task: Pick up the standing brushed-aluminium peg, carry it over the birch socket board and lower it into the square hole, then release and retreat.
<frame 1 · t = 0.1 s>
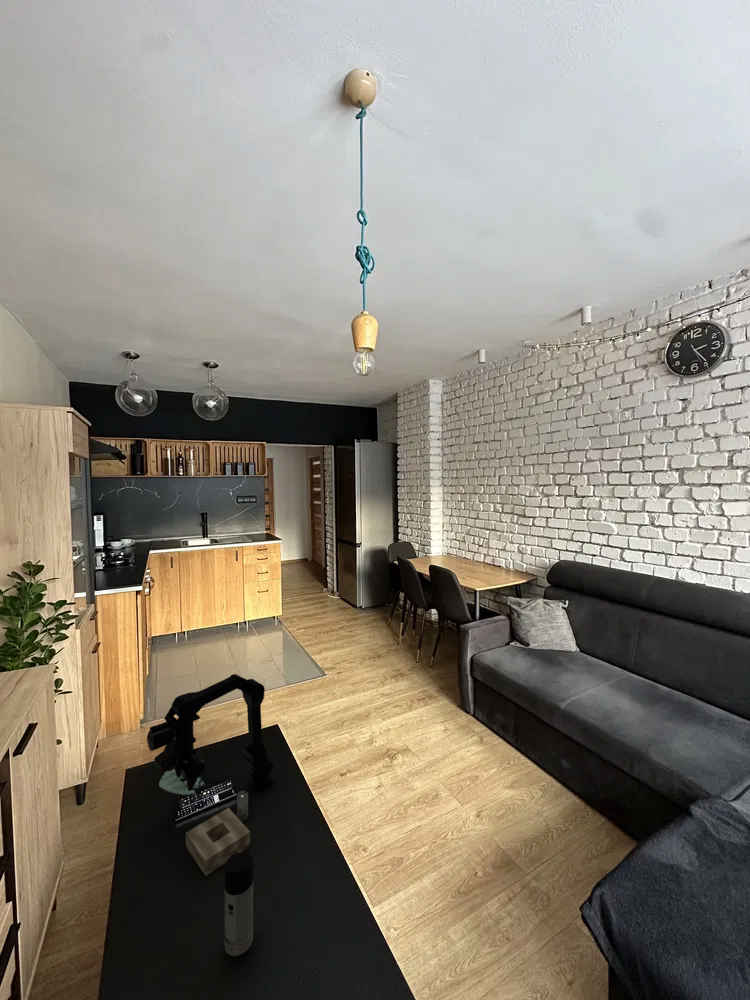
hand: (184, 783, 136), 15 cm above the table, fingers open, 9 cm apart
peg: (242, 817, 140), on the table
socket board: (218, 846, 129), on the table
spray can: (239, 943, 102), on the table
cloth: (189, 781, 159), on the table
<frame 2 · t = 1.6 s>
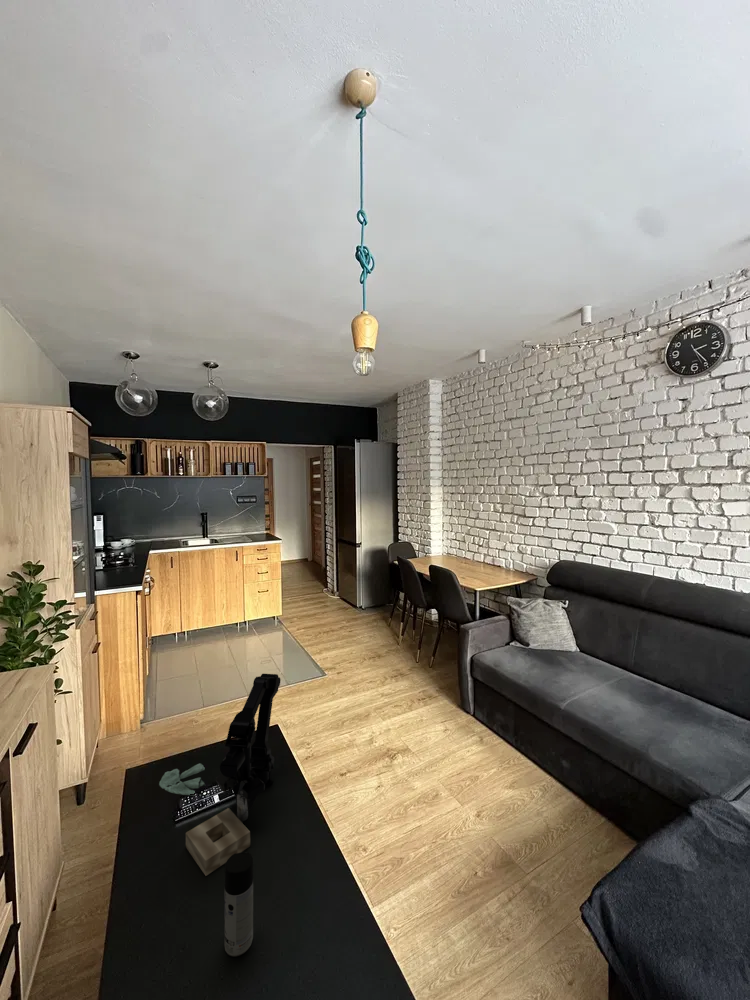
hand: (242, 802, 140), 5 cm above the table, fingers open, 9 cm apart
nothing on the table moved.
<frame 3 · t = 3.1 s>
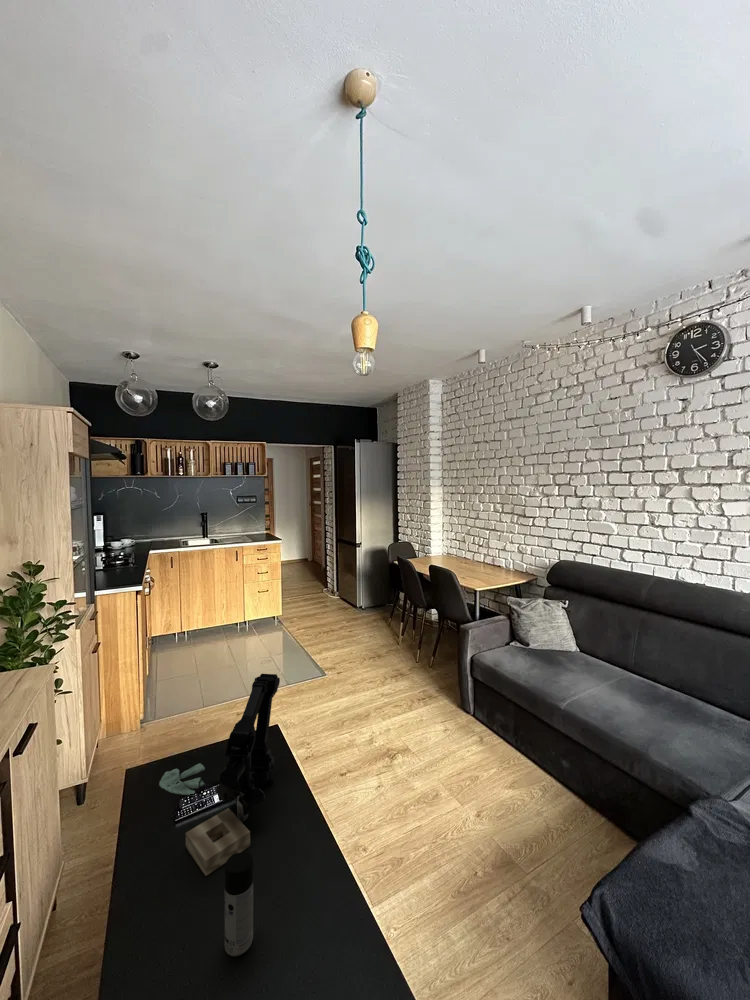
hand: (242, 811, 140), 2 cm above the table, fingers closed on peg, 3 cm apart
peg: (242, 817, 140), on the table, touching gripper
everything else where it was.
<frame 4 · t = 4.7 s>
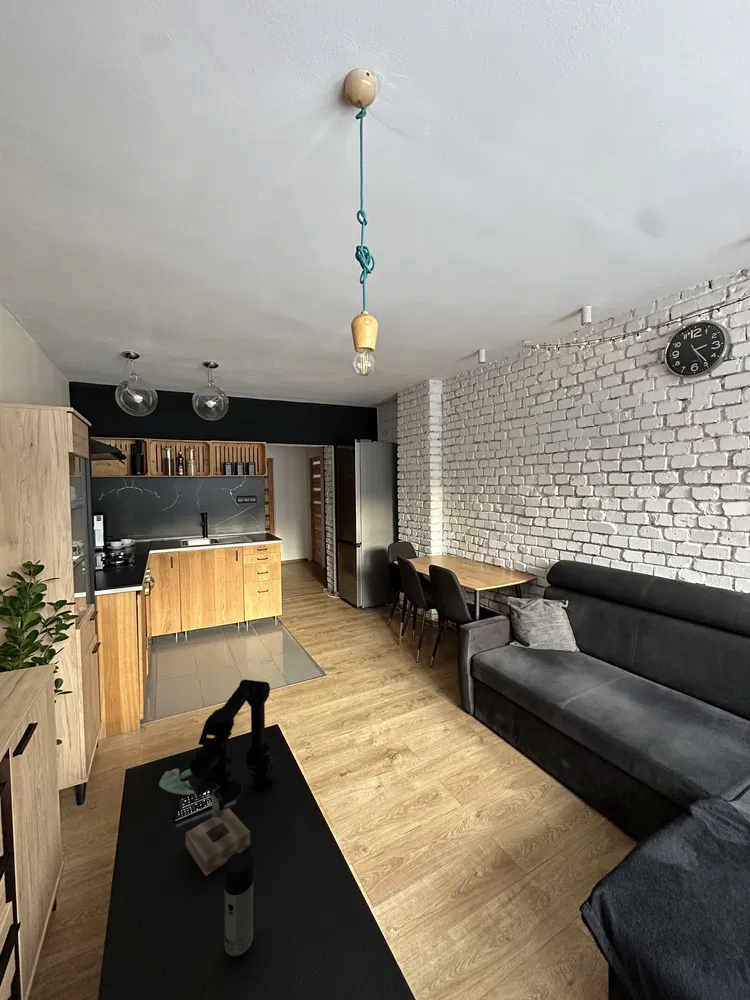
hand: (218, 806, 129), 12 cm above the table, fingers closed on peg, 3 cm apart
peg: (218, 813, 129), point 10 cm above the table, touching gripper
everything else where it was.
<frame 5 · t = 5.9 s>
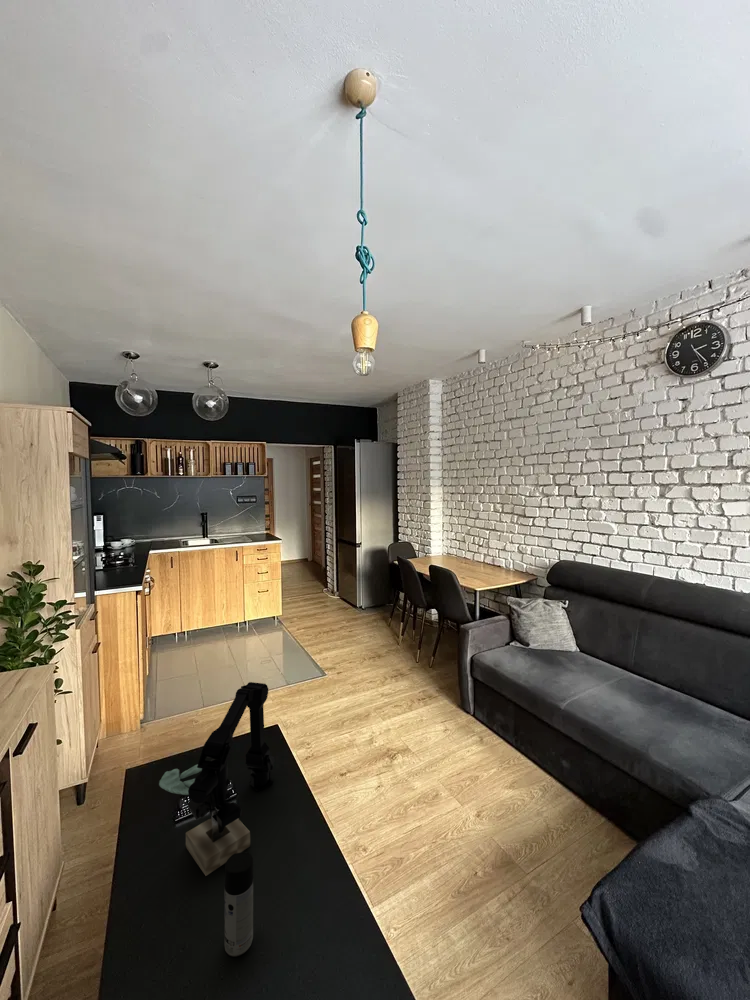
hand: (218, 828, 129), 6 cm above the table, fingers closed on peg, 3 cm apart
peg: (218, 834, 129), point 4 cm above the table, touching gripper
everything else where it was.
when the fingers open (5 cm above the table, at t = 6.6 s): peg drops 3 cm, resting in socket board.
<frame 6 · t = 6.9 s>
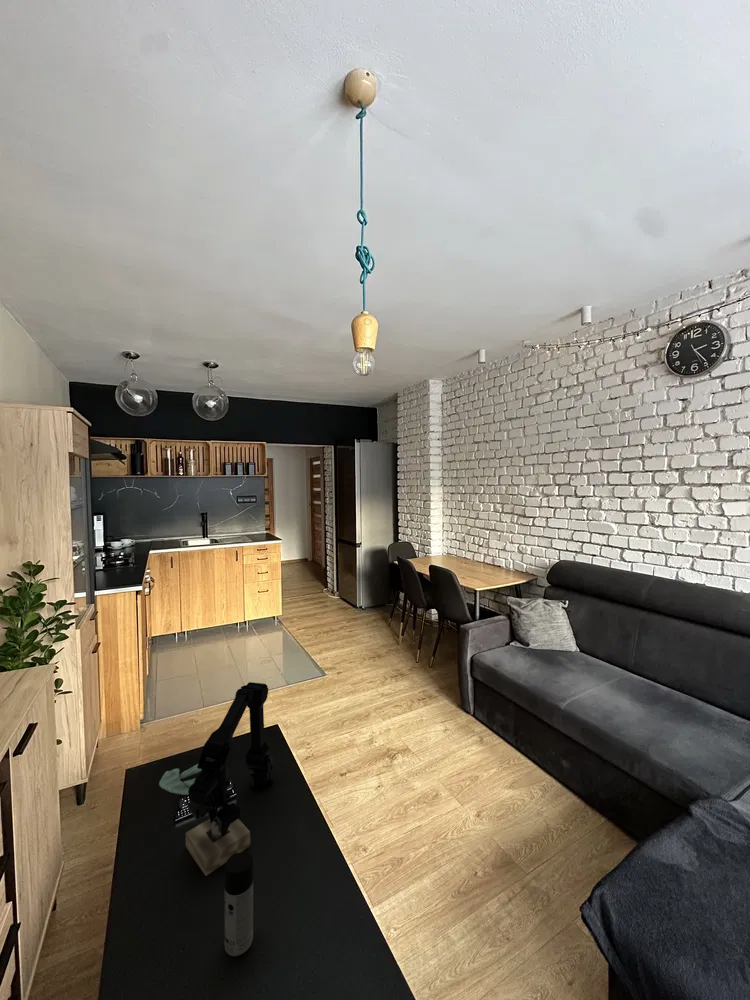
hand: (218, 829, 129), 5 cm above the table, fingers open, 7 cm apart
peg: (218, 846, 129), resting in socket board
everything else where it was.
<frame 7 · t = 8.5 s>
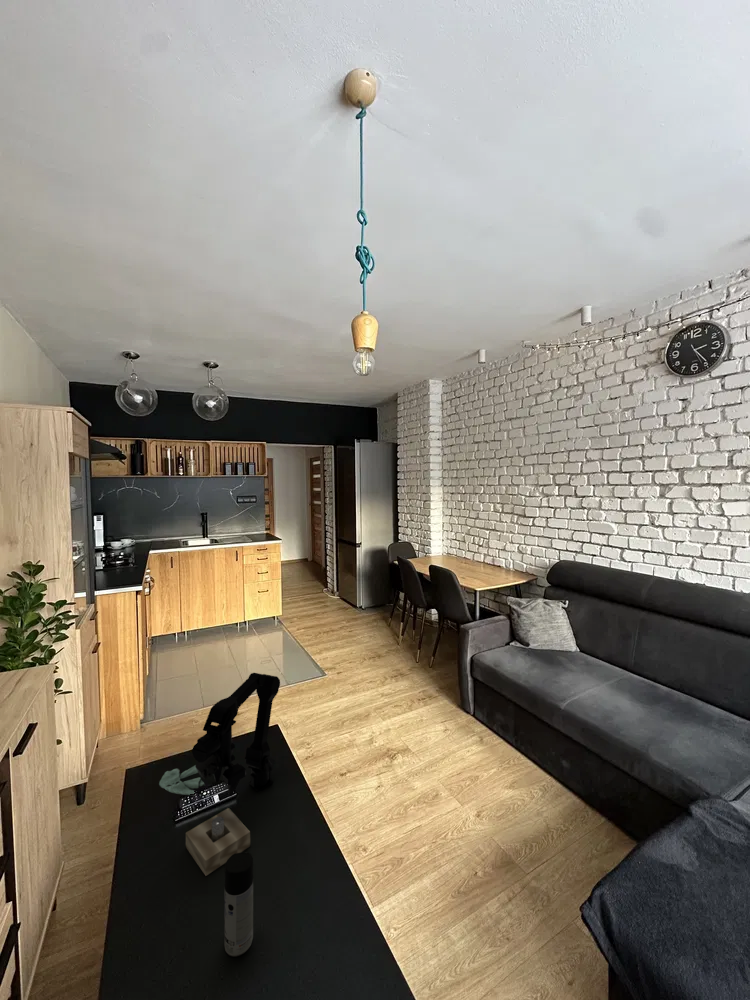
hand: (224, 788, 138), 11 cm above the table, fingers open, 9 cm apart
nothing on the table moved.
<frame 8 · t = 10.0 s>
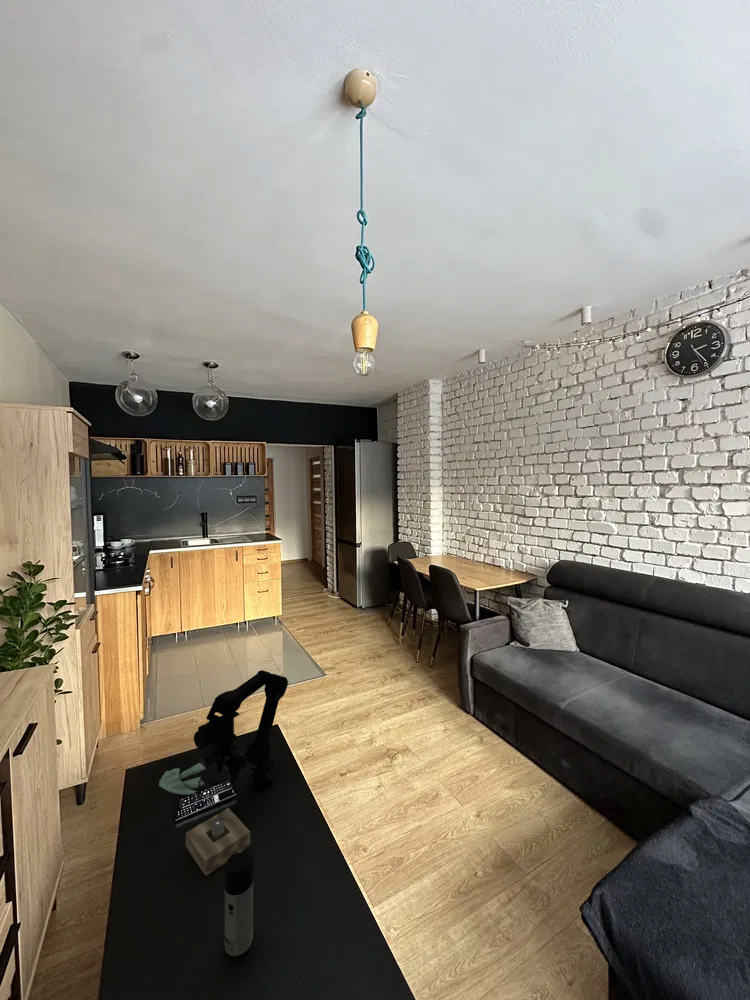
hand: (225, 778, 142), 12 cm above the table, fingers open, 9 cm apart
nothing on the table moved.
at the end: peg 0.0 cm off-centre on the socket board, point 0.0 cm above the socket board's base; peg tilted 0°; the gripper is holding nothing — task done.
